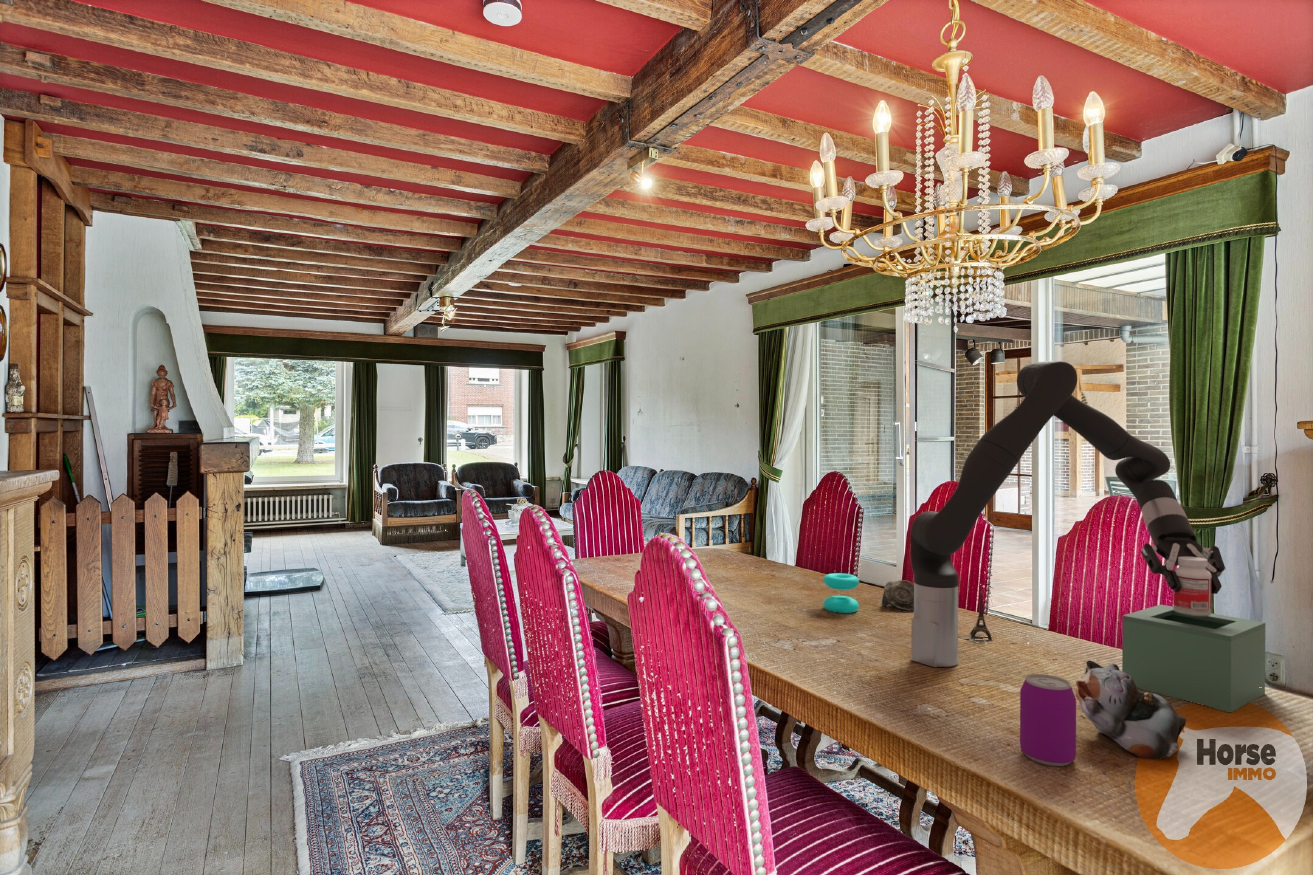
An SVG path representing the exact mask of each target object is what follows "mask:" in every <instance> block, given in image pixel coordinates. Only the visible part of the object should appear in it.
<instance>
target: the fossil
mask: <svg viewBox="0 0 1313 875" xmlns="http://www.w3.org/2000/svg"><path fill="white" fill-rule="evenodd" d="M882 594H883V595H882V599H881V606H882V605H884V606H883V607H887V606H890V607H891V608H893V609H894V610H896V611H899V612H902V611H911V612H914V583H912V582H911V581H909V580H907V579H906V580H901V579H900V580H895V581H888V582H887V583H885V586H884V588H883V593H882Z"/></svg>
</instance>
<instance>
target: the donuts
mask: <svg viewBox="0 0 1313 875" xmlns="http://www.w3.org/2000/svg"><path fill="white" fill-rule="evenodd" d="M823 583H824V585H825V586H827V587H828V588H830V589H833V590H838V591H839V590H840V591H850V590H853V589H855V588H857V587H858V586H859V584H860V580H859V578H858V577H857V576H856V575H853V574H851V573H844V572H843V573H841V572H839V573H837V572H836V573H834V572H833V573H828V574H826V575H824V576H823ZM822 605H823V608H824V609H825V610H826V611H828V610H829V611H828V612H831V611H833V612H832V613H836V612H838V613H837V614H852V612H853V613H855V612H857V611H858V610H859V609H860V608H859V607H860V605H859V602H858V601H857V600H856V599H855V598H854V597H850V596H846V595H845V596H844V595H832V596H829V597H826V598H825V599H824V600H823V602H822Z"/></svg>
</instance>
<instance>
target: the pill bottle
mask: <svg viewBox="0 0 1313 875" xmlns="http://www.w3.org/2000/svg"><path fill="white" fill-rule="evenodd" d="M1207 560H1208V559H1204V558H1198V557H1188V556H1183V557H1178V564H1179V566H1178V567H1176V568H1175V569H1173V571H1175V572H1176V574H1177V576H1178V579H1179V581H1180V583H1181V589H1180V590H1179V592H1174V591H1173V590H1172V592H1173V593H1172V594H1173V596H1172V604H1173V605H1172V607H1173V609H1174V611H1175V612H1177V613H1180V614H1185V615H1190V616H1209V615H1210V614H1211V613H1212V593H1211V589H1212V576H1211V573H1210V572H1209V571H1207V569H1206V568H1205V567H1207Z"/></svg>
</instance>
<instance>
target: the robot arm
mask: <svg viewBox="0 0 1313 875" xmlns="http://www.w3.org/2000/svg"><path fill="white" fill-rule="evenodd" d="M1077 384H1078V374H1077V370H1076V368H1075V367H1074V366H1073V365H1072V364H1071V363H1069V362H1068V361H1062V360H1046V361H1045V360H1044V361H1036V362H1031V363H1029V364H1027V365H1025V366H1023V367H1022V368H1021V369H1020V370H1019V372H1018V374H1017V377H1016V387H1017V388H1018V392H1019V393H1020V394H1021V396H1023V397H1024V398H1023V400H1022V401H1021V402H1020V403H1019V405H1018V406H1017V407H1016V408H1015V409H1014V410H1013V411H1012V412H1010V413H1009V414H1007V416H1004V417H1003V418H1002V419H1001V420H1000V421H998V422H997V423H995V424H994V425H993V426H992V427H990V428H989V429H988V430H987V431H986V432H985V433H983V435H982V436H981V437H980V439H979V440H978V441H977V443H976V444H975V446H974V447H973V448H972V450H970V452H969V454H968V456H967V457H966V459H965V460H964V463H963V466H962V470H961V472H960V478H959V481H958V484H957V486H956V489H954V492H953V493H952V495H951V497H950V498H949V499H948V501H947V502H946V503H945V504H944V506H942V508H941V509H940V510H938V511H931V510H929V511H924V512H921V513H920V514H918V515H917V516H916V517H915V518H914V520H913V522H912V524H911V528H910V540H909V541H910V542H909V543H910V565H911V571H912V572H913V581H914V582H913V585H914V610H913V617H912V618H911V629H910V630H911V639H910V641H911V643H910V644H911V645H910V647H911V648H910V649H911V650H910V654H911V656H910V657H911V658H910V659H911V661H913V662H917V663H920V664H923V665H926V666H929V667H933V668H937V667H940V668H941V667H943V668H944V667H945V668H947V667H953V666H956V665H958V664H959V662H958V660H959V658H958V657H959V656H958V655H959V654H958V653H959V642H958V641H959V637H958V636H959V574H958V571H956V568H955V567H954V564H953V562H952V555H953V554H956V552H958V551H959V550H960V549H961V548H962V546H963V545H964V544H965V542H966V540H967V538H968V536H969V535H970V533H971V531H972V529H973V528H974V526H975V524H976V523H977V521H978V519H979V517H980V516H981V514H982V512H983V510H984V509H985V508H986V506H987V505H988V503H989V502H991V499H993V497H994V496H995V494H996V493H997V492H998V490H999V488H1001V486H1002V484H1003V483H1004V482H1005V480H1007V478H1008V477H1009V476H1010V475H1011V473H1012V471H1013V470H1014V469H1015V467H1016V466H1017V465H1018V463H1019V461H1021V459H1022V457H1023V456H1024V454H1025V452H1026V451H1027V450H1028V448H1029V447H1030V446H1031V445H1032V443H1033V442H1034V440H1035V439H1036V438H1037V437H1038V435H1039V434H1040V433H1041V431H1042V429H1044V427H1045V426H1046V424H1047V423H1048V422H1049V421H1050V420H1051V419H1052V417H1055V418H1057V419H1059V420H1060V421H1061V422H1063V423H1064V424H1066V425H1067V427H1070V429H1072V430H1073V431H1074V432H1076V433H1077V434H1078V435H1080V437H1082V438H1083V439H1084V440H1085V441H1086V442H1088V443H1089V444H1090V445H1091V446H1093V447H1094V449H1096V450H1097V451H1098V452H1099V453H1100V454H1101V455H1103V456H1104V457H1105V458H1107V459H1109V460H1110V461H1118V462H1117V464H1116V465H1115V469H1114V472H1115V475H1116V477H1117V479H1119V481H1120V482H1121V483H1122V484H1123V485H1125V486H1126V488H1128V490H1129V491H1130V493H1131V494H1132V496H1134V498H1135V499H1136V502H1137V504H1138V507H1139V509H1140V510H1141V514H1142V518H1143V521H1144V525H1145V526H1146V530H1147V531H1148V533H1149V536H1150V538H1151V541H1152V543H1153V545H1151V544H1150V543H1145V544H1143V547H1142V549H1141V550H1140V553H1141V556H1142V557H1143V559H1144V561H1145V563H1146V565H1147V566H1148V568H1149V569H1150V571H1151V573H1152V574H1154V575H1157V574H1161V576H1163V577H1164V579H1165V580H1166V584H1167V586H1168V588H1169V589H1170V590H1172V592H1173V591H1174V592H1179V590H1180V589H1181V583H1180V581H1179V579H1178V576H1177V574H1176V572H1175V571H1174V568H1175V566H1178V567H1179V566H1180V565H1179V564H1178V557H1183V556H1188V557H1198V558H1204V559H1207V567H1205V569H1206V570H1207V571H1209V572H1210V573H1211V576H1212V589H1211V595H1212V594H1213V595H1217V594H1218V593H1219V592H1220V590H1221V588H1222V583H1221V581H1220V579H1219V577H1221V576H1222V574H1223V572H1224V571H1225V570H1226V566H1225V563H1224V561H1223V557H1222V554H1221V552H1220V548H1219V547H1218V546H1216V545H1212V546H1211V547H1204V546H1202V545H1201V544H1200V543H1199V542H1198V541H1197V536H1196V533H1195V530H1194V529H1193V527H1192V525H1191V522H1190V521H1189V519H1188V516H1187V515H1186V513H1185V510H1184V509H1183V507H1182V506H1181V505H1180V503H1179V501H1178V499H1177V497H1176V494H1175V492H1174V491H1173V488H1172V486H1171V485H1170V484H1169V482H1166V481H1165V480H1162V479H1157V478H1159V477H1162V476H1164V475H1166V474H1167V473H1168V472H1169V470H1170V469H1171V461H1170V459H1169V457H1168V456H1167V454H1166V453H1165V452H1164V451H1163V450H1162V449H1159V448H1158V447H1156V446H1154V445H1152V444H1150V443H1147V442H1145V441H1143V440H1141V439H1140V438H1137V437H1135V436H1133V435H1131V434H1130V433H1129V432H1128V431H1127V430H1126V429H1124V428H1123V427H1122V426H1121V425H1120V424H1119V423H1118V422H1117V421H1115V420H1114V419H1113V418H1111V417H1110V416H1108V415H1107V414H1105V413H1103V412H1102V411H1100V410H1098V409H1096V408H1094V407H1092V406H1090V405H1089V404H1086V403H1085V402H1084V401H1082V400H1080V399H1079V398H1076V397H1075V396H1074V395H1073V393H1074V392H1075V390H1076V387H1077ZM1157 554H1158V555H1159V556H1161V557H1162V558H1163V559H1164V563H1162V562H1161V560H1160V559H1159V557H1158V555H1157Z"/></svg>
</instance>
